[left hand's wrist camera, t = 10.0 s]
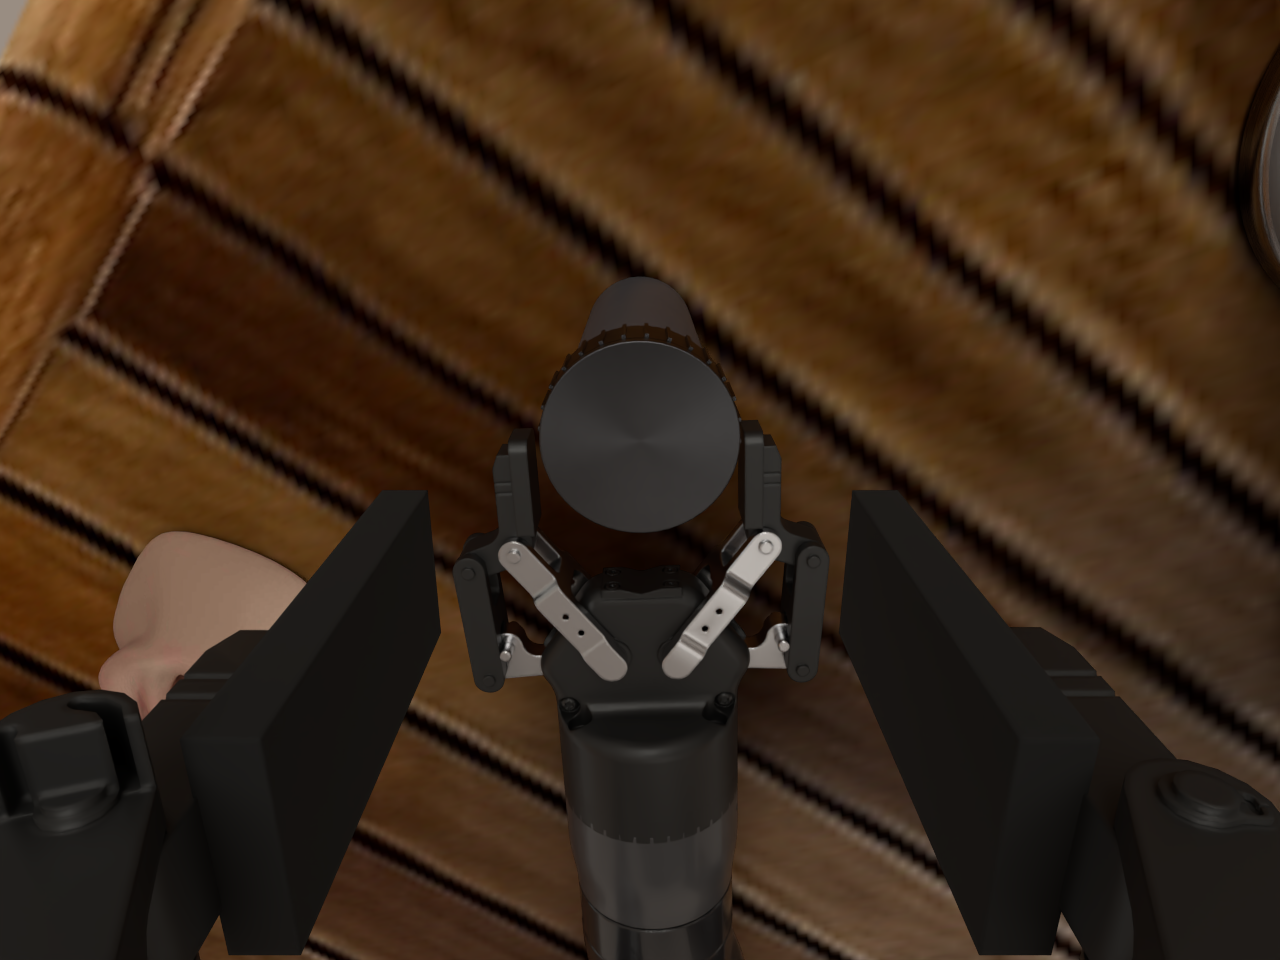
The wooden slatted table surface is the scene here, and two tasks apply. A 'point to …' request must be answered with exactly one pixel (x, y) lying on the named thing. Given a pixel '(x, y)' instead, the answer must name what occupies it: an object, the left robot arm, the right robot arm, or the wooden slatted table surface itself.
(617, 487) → the lid
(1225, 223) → the wooden slatted table surface
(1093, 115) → the wooden slatted table surface
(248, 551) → the anatomical model
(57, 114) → the wooden slatted table surface
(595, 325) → the dark grey cylinder
